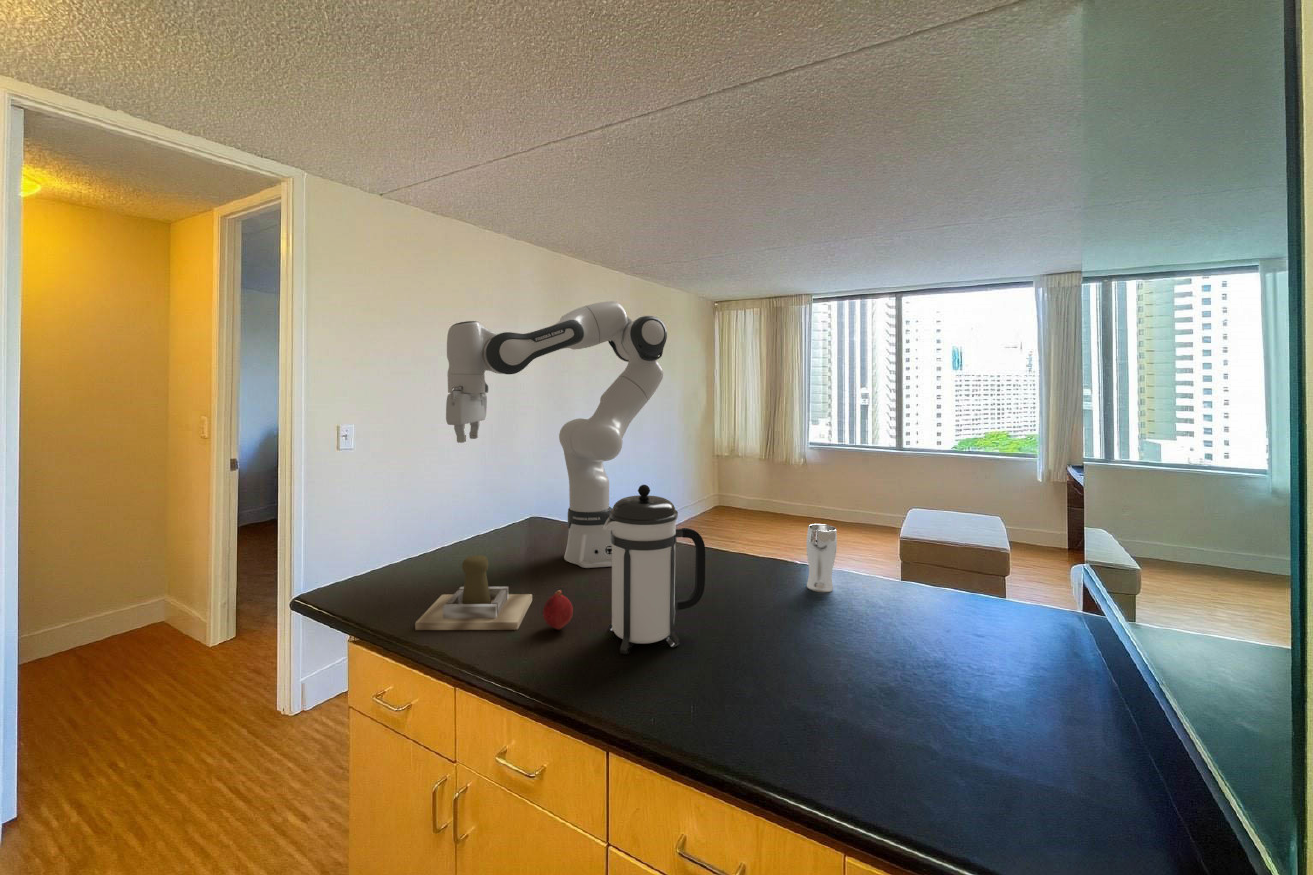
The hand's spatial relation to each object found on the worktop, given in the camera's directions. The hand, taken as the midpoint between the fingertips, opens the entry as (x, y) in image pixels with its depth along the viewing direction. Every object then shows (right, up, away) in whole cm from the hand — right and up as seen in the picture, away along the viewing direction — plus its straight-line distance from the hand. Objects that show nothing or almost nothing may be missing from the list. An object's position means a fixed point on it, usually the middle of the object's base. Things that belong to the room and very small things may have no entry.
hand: (467, 440), depth 133 cm
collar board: (+11, -37, -23) cm, 45 cm away
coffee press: (+47, -38, -32) cm, 68 cm away
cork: (+10, -35, -23) cm, 44 cm away
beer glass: (+88, -36, -7) cm, 95 cm away
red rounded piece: (+29, -38, -29) cm, 56 cm away
